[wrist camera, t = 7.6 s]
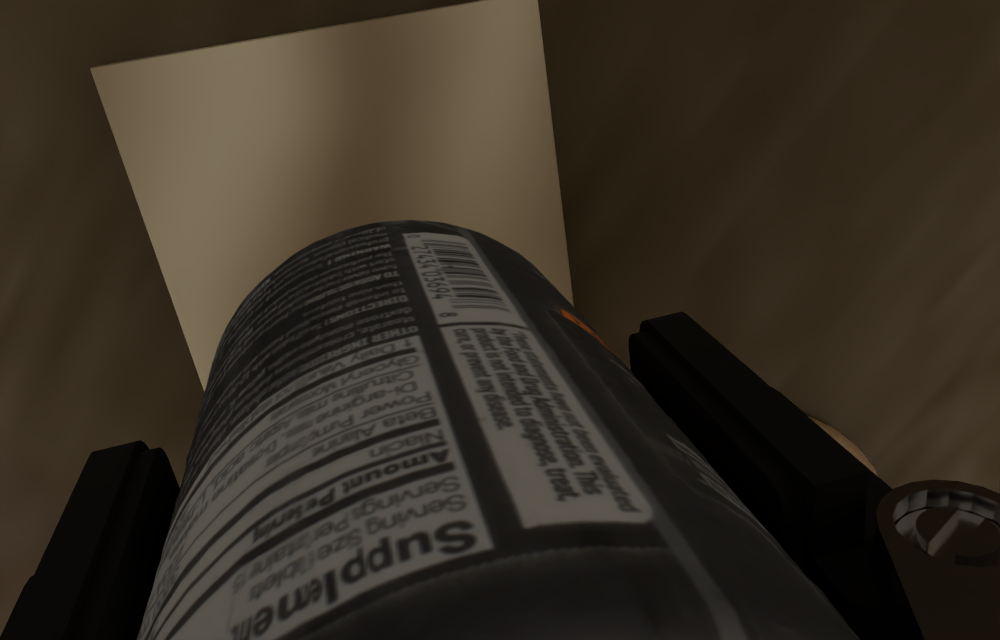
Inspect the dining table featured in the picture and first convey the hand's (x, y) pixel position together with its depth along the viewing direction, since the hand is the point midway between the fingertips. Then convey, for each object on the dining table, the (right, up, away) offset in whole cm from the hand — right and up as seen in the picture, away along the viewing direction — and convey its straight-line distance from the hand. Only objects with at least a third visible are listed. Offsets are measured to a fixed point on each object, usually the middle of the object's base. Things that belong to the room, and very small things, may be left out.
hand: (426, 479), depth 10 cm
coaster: (-2, +4, +10) cm, 11 cm away
